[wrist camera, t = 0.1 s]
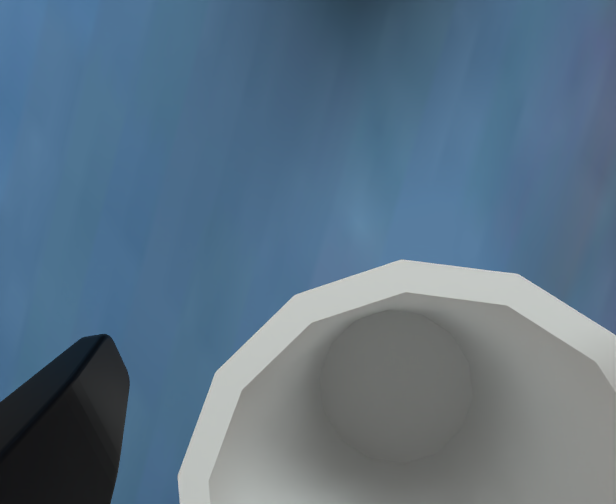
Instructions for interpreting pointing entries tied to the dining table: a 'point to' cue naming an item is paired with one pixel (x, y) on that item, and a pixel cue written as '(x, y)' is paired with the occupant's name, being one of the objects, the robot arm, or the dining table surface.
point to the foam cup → (412, 398)
